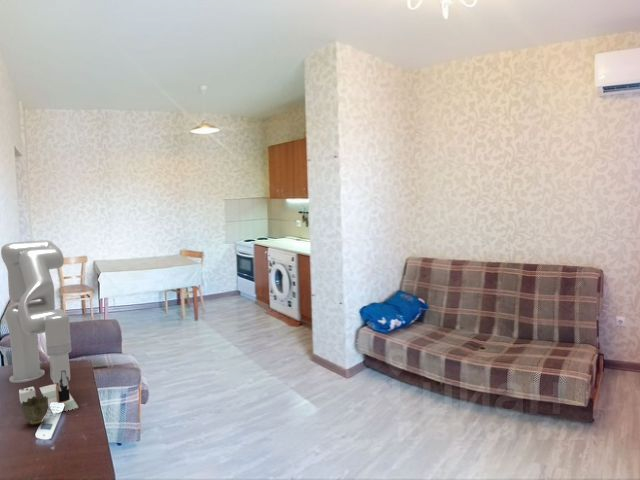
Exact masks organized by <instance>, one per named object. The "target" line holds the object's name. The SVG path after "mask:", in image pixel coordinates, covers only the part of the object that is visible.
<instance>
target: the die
mask: <svg viewBox="0 0 640 480" xmlns="http://www.w3.org/2000/svg"><path fill="white" fill-rule="evenodd" d="M18 395H19V402H20V405H21V406H22V404H21V403H23V401H24V402H27V399H28V398H30V399H31V398H32V397H34V396H35V397H36V398H37V396H36V389H35V387H34V386H29V387H25V388H20V389H19V390H18Z"/></svg>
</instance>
